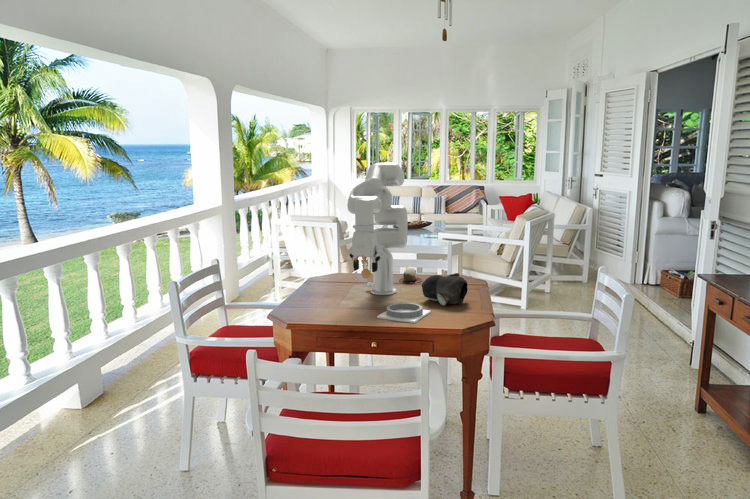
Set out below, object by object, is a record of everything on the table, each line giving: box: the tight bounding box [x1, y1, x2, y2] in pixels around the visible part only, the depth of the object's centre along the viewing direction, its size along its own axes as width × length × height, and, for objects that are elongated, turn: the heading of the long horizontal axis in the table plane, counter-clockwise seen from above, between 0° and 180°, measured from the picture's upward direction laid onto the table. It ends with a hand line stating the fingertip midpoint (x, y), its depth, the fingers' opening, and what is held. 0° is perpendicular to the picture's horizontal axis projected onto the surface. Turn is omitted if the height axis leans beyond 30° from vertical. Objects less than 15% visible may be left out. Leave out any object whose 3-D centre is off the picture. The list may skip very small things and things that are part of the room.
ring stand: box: [376, 302, 432, 324], centre depth 240 cm, size 17×17×3 cm
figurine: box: [355, 254, 372, 279], centre depth 236 cm, size 8×6×12 cm
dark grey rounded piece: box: [421, 272, 468, 306], centre depth 259 cm, size 20×21×13 cm
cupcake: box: [398, 266, 423, 284], centre depth 303 cm, size 12×10×10 cm
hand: (365, 270), depth 236 cm, fingers closed on figurine, 8 cm apart
